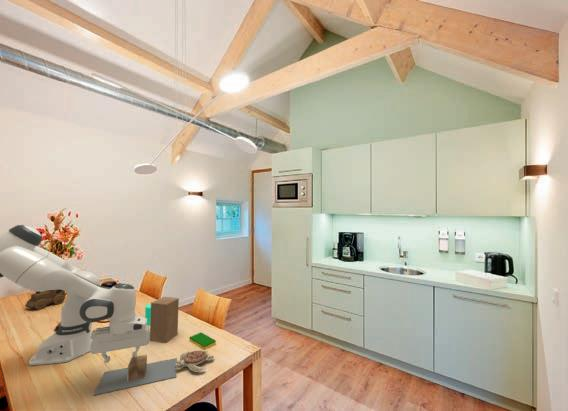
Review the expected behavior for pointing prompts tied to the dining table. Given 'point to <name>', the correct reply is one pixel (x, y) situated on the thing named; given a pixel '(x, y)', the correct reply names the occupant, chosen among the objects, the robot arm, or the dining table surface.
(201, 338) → the dish sponge
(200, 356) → the decorative turtle
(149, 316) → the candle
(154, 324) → the wooden block
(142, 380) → the mat
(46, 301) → the wooden toy train
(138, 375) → the letter cube
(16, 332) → the dining table surface
